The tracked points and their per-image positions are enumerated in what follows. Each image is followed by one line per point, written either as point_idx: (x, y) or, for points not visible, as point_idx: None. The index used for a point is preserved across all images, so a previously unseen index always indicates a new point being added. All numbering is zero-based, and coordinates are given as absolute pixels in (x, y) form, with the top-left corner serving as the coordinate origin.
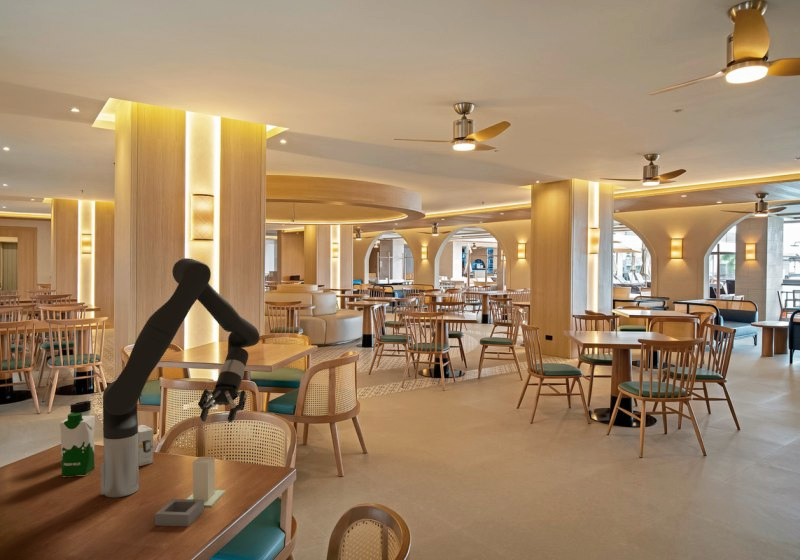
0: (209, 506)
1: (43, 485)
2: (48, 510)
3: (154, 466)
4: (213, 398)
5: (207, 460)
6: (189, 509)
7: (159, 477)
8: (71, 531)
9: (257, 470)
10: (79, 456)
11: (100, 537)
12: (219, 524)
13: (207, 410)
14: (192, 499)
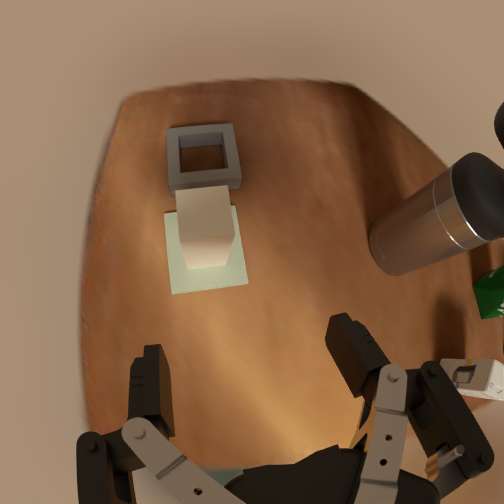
0: (168, 213)
1: None
2: (418, 170)
3: None
4: (377, 443)
5: (186, 206)
6: (176, 144)
7: (379, 328)
8: (338, 117)
9: None
10: (500, 273)
11: (285, 104)
12: (117, 158)
13: (359, 382)
14: None
